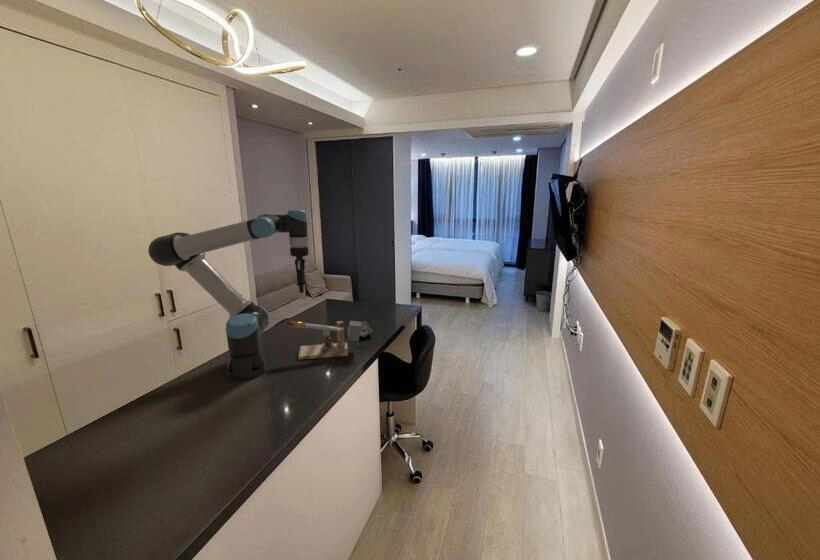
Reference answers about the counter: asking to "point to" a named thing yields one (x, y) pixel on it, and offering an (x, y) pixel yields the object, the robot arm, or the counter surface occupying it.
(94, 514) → the counter surface
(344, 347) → the tan angle plate
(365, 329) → the rock
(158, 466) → the counter surface
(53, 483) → the counter surface
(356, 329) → the lever
